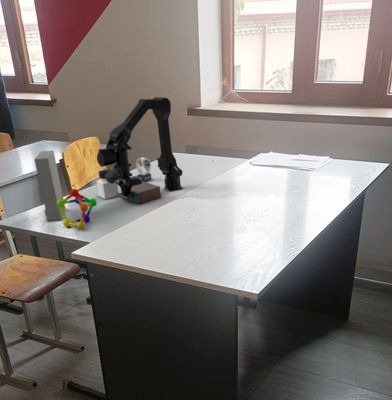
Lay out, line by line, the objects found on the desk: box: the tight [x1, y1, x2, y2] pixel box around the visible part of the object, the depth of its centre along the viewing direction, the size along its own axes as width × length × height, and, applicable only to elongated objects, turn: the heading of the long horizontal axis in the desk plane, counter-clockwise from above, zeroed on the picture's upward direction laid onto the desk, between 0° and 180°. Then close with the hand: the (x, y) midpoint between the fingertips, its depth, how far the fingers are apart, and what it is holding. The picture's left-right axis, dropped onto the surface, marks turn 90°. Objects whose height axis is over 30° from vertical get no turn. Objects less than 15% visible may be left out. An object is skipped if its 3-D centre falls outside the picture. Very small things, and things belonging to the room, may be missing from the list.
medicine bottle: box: [96, 168, 119, 200], centre depth 231 cm, size 7×7×12 cm
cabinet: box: [131, 182, 162, 205], centre depth 228 cm, size 11×13×5 cm
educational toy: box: [57, 188, 98, 231], centre depth 200 cm, size 16×13×15 cm
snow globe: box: [135, 156, 152, 183], centre depth 250 cm, size 6×8×11 cm
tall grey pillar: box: [34, 150, 67, 222], centre depth 208 cm, size 14×6×25 cm, turn 4°
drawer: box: [116, 189, 141, 205], centre depth 226 cm, size 16×13×5 cm
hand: (126, 198), depth 223 cm, fingers closed, pressing on drawer
